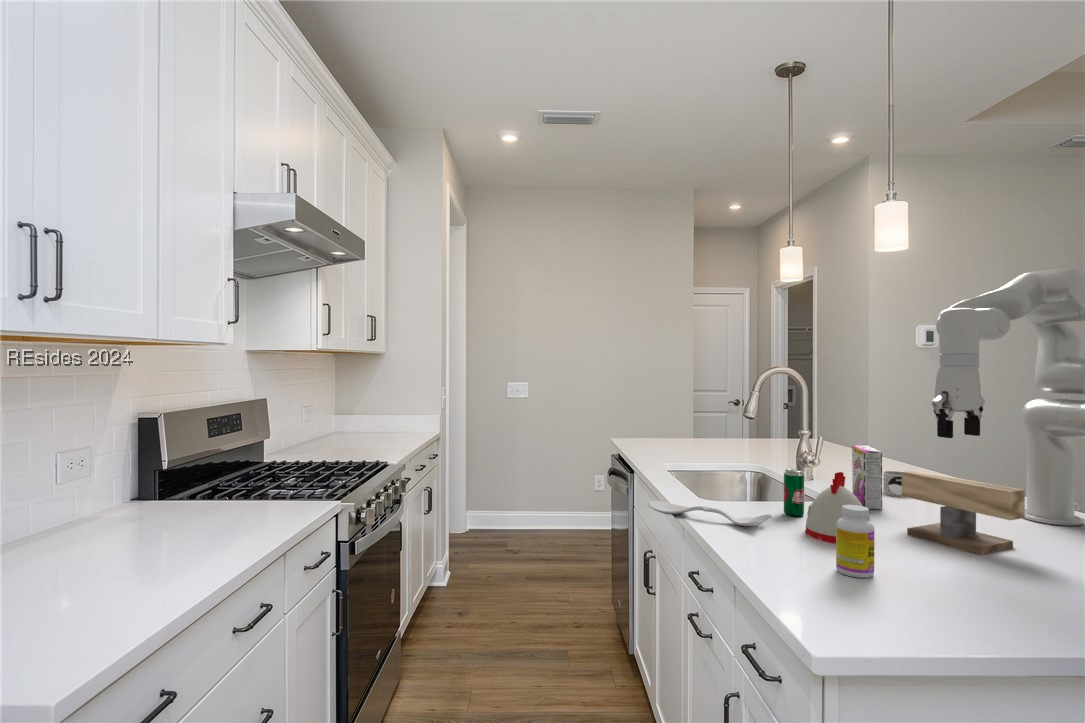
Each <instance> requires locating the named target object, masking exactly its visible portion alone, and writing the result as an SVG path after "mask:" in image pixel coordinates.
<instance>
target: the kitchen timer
mask: <svg viewBox="0 0 1085 723" xmlns="http://www.w3.org/2000/svg"><path fill="white" fill-rule="evenodd" d="M845 484H846V476H844V472H843V471H836V472H835V473H834V478H832V484H830V486H829V487H827V488H825V489H824V490H822V491H821V492H820V493H819V494H818V495H817V496H816V498H815V499H814V500H813V501H812V503H811V504H809V505H808V508H807V514H806V515H807V517H806V521H805V533H806V535H807V536H808V537H810V538H813V539H815V540H817V541H821V542H826V543H830V544H836V523H837V521H838V520H839V519H840V518H843V514H842V506H843V505H858V506H862V504H861V503H860V501H859V500H858V499H857V497H856V496H855V495H854V494H853V491H851V490H850V489H847V488H846V487H845ZM867 518H868V521H870V522H871V518H870V514H869V515H868V517H867Z"/></svg>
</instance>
